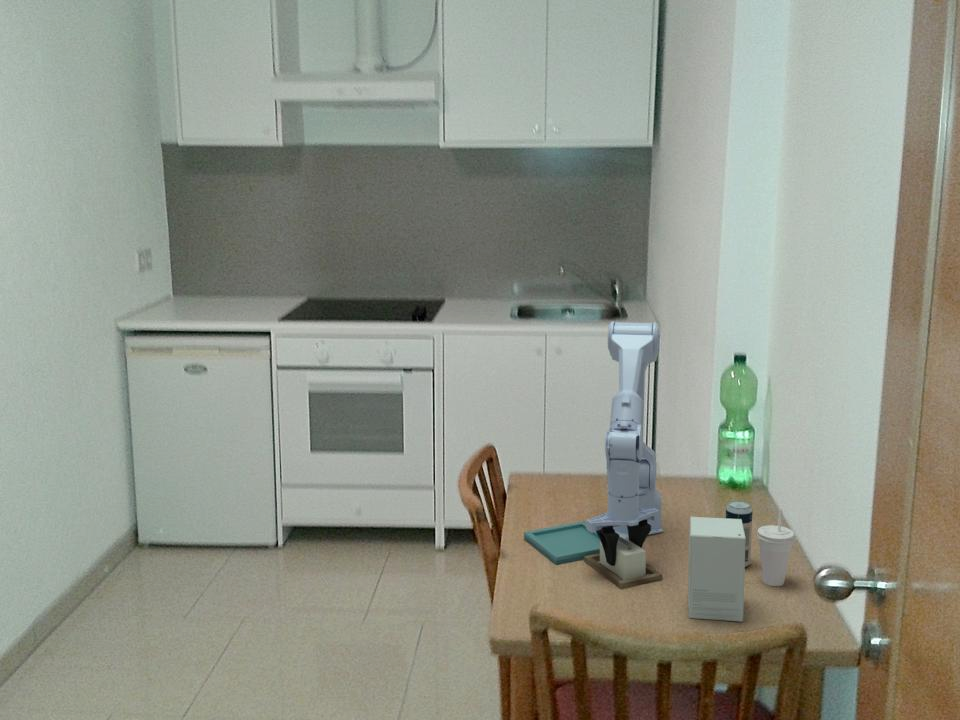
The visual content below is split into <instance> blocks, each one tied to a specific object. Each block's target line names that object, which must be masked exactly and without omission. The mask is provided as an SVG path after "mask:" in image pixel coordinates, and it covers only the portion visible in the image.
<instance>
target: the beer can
mask: <svg viewBox="0 0 960 720" xmlns="http://www.w3.org/2000/svg"><path fill="white" fill-rule="evenodd" d="M725 518H727V519H742V524H743V529H744V533H745V538H746V543H745V568H746V567H749V566H750V564H751V553H752V552H751V551H752V550H751V549H752V531H753V530H752V529H753V509H752V506H751V504H750V502H747V501H743V500H733V501H730V502H728V504H727V506H726V507H725Z"/></svg>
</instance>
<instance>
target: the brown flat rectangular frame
mask: <svg viewBox="0 0 960 720" xmlns="http://www.w3.org/2000/svg"><path fill="white" fill-rule="evenodd" d="M598 561H599V562H598ZM583 562H585V563H586V564H587V565H589V566H590V567H591V568H592V569H593V570H595V571H596V572H598V573H599V574H601V575H602V576H603V577H605V579H608V581H610V582H611V583H612V584H614V585H615V586H617V587H618V588H619V589H627V588H632V587H635V586H641V585H644V584H645V585H646V584H649V583H654V582H658V581H662V580H663V574H662V573H661V572H660V571H658V570H656V569H655V568H653V567H651V566H650V565H649V564H647V563H646V571H645V576H641V577H637V578H632V579H627V580H623V579H621V578H620V577H619V576H617V575H616V574H615V573H613V572H612V571H611V570H609V569H608V568H606V567H605V566H604V565H602V564H601V563H600V553H598V554H593V555H588V556H584V559H583ZM646 574H647V575H646Z"/></svg>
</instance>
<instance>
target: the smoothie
mask: <svg viewBox="0 0 960 720" xmlns="http://www.w3.org/2000/svg"><path fill="white" fill-rule="evenodd" d="M777 511H778V514H777V515H778V516H777V525H772V524H771V525H763V526H760V527H759V528H758V529H757V532H756V533H757V534H756V536H757V538H758V540H759V543H758V544H759V552H760V562H761V563H760V564H761V566H760V567H761V573H762V574H761V577H762V583H764V584H765V585H767V586H770V587H781V586H784V584H785V580H786V574H787V569H788V563H789V558H790V554H791V549H792V543H793V542H794V540H795V533H794V530H792V529H791V528H788V527H786V526H782V516H783V515H782V514H783V510H782V508H780V507H779V508H778V510H777Z"/></svg>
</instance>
